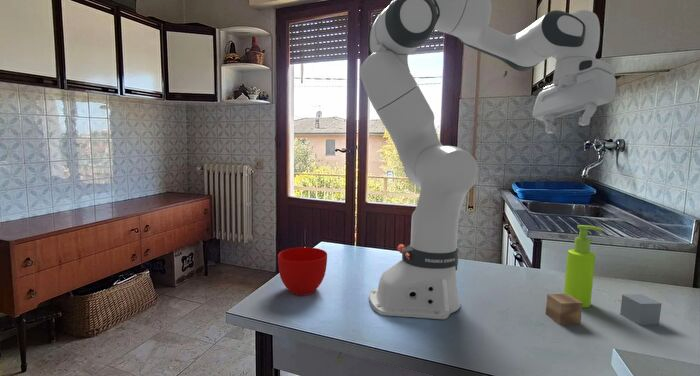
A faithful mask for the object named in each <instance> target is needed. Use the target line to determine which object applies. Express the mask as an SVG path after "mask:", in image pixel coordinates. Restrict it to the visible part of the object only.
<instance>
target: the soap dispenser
mask: <svg viewBox="0 0 700 376" xmlns="http://www.w3.org/2000/svg"><path fill="white" fill-rule="evenodd" d="M576 229H578V230H579V231H578V232H579V233H578V236H575V237H574V242H573V243H574V244H573V249H568V250H567V254H566V255H567V258H566V265H565V266H566V267H565V276H564V277H565V278H564V289H563V294H569V295H570V296H572V297H574V298H575V299H577V300H579V301H580V302H582V303H583V304H582V308H589V307H591V304H592V303H591V302H592V301H591V300H592V294H593V293H592V292H593V284H594V283H593V282H594V274H595V273H594V272H595V264H596V263H595V262H596V254H595V253H594V252H592V251H591V241H592V239H590V237H588V232H589V231H588V230H590V231H591V230H593V231H597V232H601V233H602V232H604V228H602V227H598V226H595V225H587V224H577V228H576Z"/></svg>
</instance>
